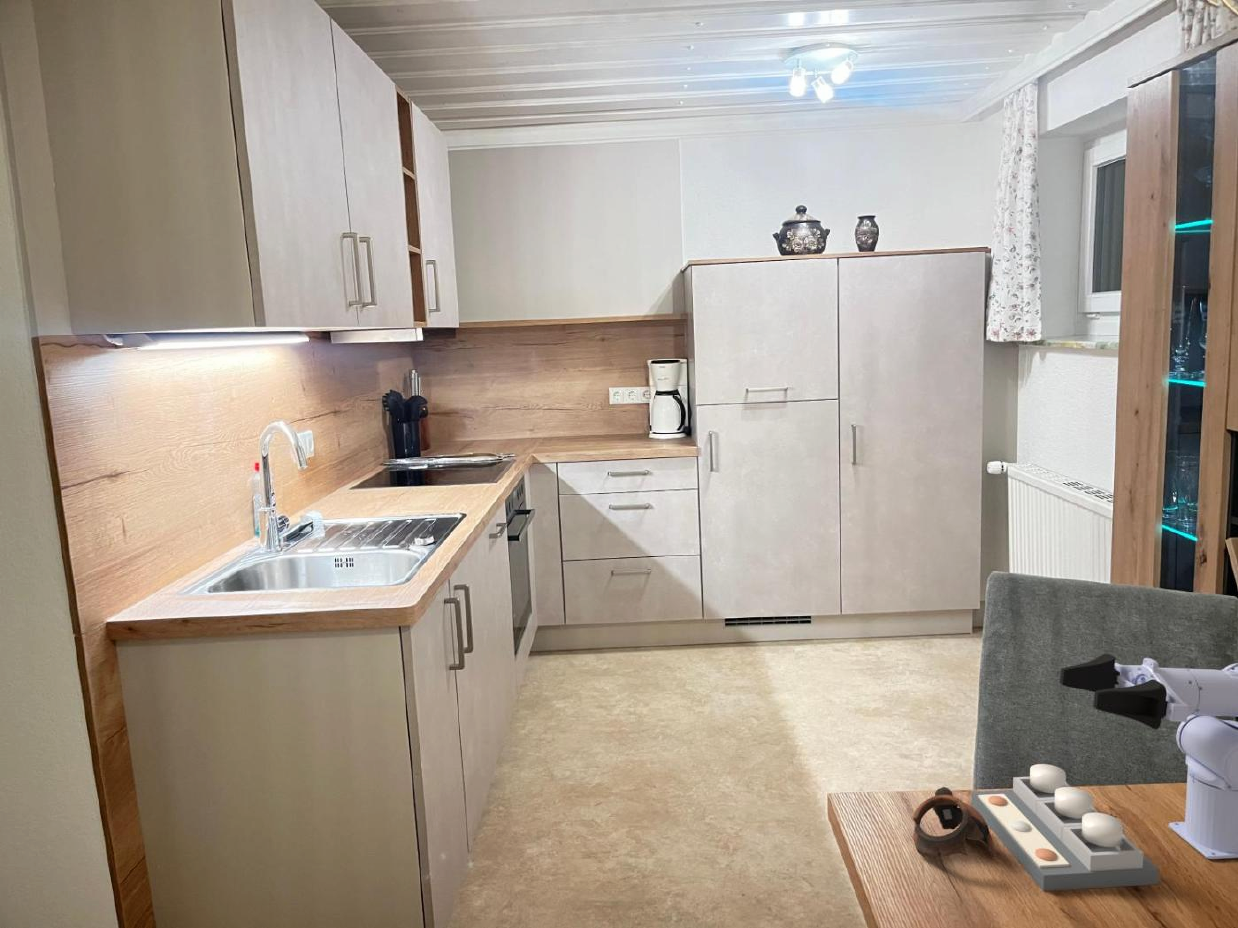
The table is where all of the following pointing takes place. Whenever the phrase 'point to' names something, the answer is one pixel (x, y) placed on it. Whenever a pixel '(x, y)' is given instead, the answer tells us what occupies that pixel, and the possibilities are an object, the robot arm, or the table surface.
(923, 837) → the brown broken pot
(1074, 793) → the button middle
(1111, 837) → the button
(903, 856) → the table surface
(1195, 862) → the table surface
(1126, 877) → the button board
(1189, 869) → the table surface
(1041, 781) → the button
